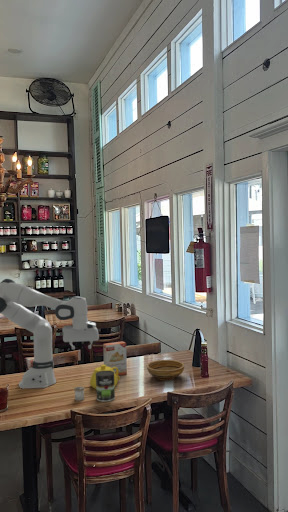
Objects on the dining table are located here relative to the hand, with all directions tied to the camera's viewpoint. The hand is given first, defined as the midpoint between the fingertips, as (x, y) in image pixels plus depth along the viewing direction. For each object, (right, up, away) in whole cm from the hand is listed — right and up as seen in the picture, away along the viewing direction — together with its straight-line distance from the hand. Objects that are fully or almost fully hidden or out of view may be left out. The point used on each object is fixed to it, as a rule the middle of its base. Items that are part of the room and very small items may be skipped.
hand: (81, 349), depth 248 cm
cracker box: (+17, -24, +33) cm, 45 cm away
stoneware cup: (0, -26, -7) cm, 27 cm away
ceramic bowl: (+49, -24, +25) cm, 60 cm away
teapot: (+14, -25, +12) cm, 31 cm away
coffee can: (+14, -26, -8) cm, 31 cm away
